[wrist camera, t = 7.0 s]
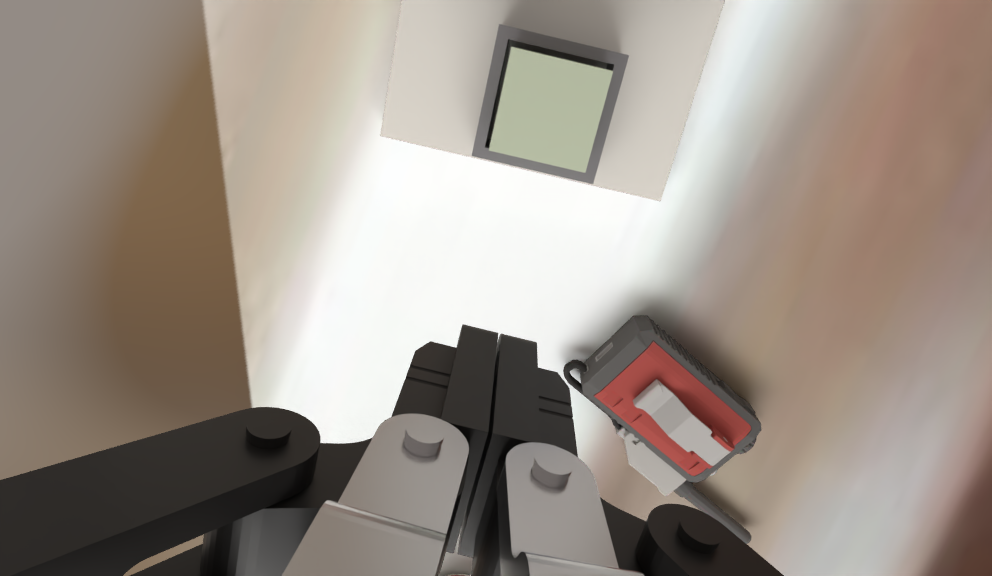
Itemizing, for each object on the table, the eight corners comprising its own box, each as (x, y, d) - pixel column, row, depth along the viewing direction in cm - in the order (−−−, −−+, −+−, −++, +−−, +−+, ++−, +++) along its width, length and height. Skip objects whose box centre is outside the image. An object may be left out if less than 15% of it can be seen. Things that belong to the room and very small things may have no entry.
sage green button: (603, 68, 35) (613, 71, 31) (579, 159, 37) (585, 173, 33) (513, 46, 35) (511, 46, 31) (492, 139, 36) (488, 150, 33)
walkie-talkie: (539, 380, 46) (731, 536, 50) (541, 413, 42) (750, 580, 46) (629, 294, 43) (823, 466, 47) (639, 321, 39) (852, 506, 43)
